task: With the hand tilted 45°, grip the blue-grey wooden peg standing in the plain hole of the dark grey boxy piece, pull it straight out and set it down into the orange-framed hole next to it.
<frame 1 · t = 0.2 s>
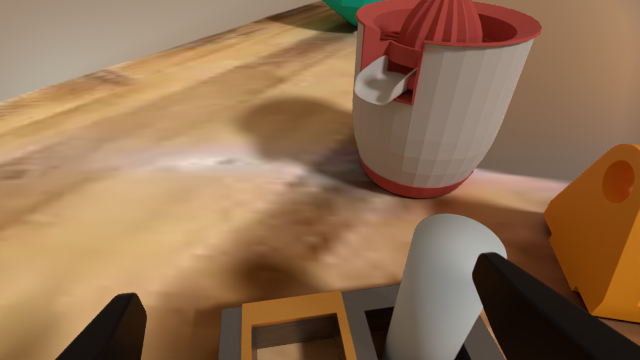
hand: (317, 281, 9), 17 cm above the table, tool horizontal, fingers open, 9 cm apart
citrus juicer: (406, 172, 40), on the table
bracket: (602, 271, 30), on the table
table top decor: (369, 26, 91), on the table
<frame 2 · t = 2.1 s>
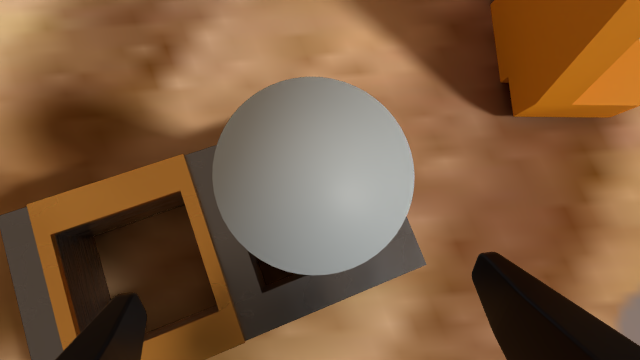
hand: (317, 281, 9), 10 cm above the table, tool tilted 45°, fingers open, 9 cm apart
peg: (297, 217, 19), resting in dark grey boxy piece
bracket: (543, 46, 23), on the table
dark grey boxy piece: (232, 241, 18), on the table
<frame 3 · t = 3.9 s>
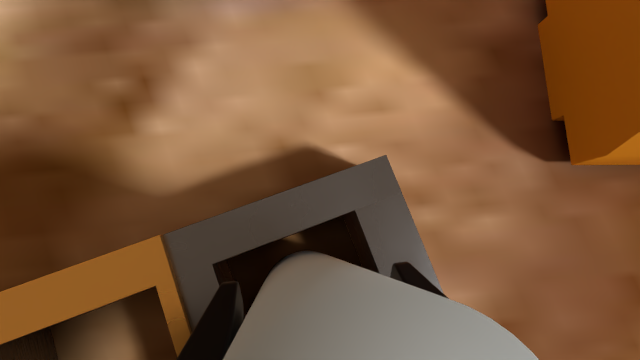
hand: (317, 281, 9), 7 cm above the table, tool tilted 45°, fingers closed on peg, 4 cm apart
peg: (307, 296, 15), resting in dark grey boxy piece, touching gripper
bracket: (601, 75, 19), on the table
dark grey boxy piece: (225, 330, 15), on the table
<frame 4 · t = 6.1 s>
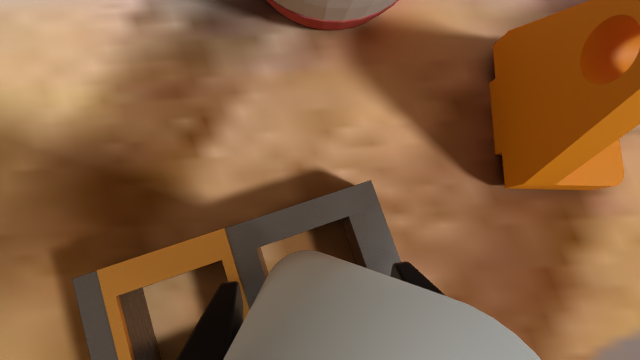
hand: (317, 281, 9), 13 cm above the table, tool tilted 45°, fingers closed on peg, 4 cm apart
peg: (307, 295, 15), point 7 cm above the table, touching gripper
bracket: (535, 121, 26), on the table
dark grey boxy piece: (258, 294, 21), on the table
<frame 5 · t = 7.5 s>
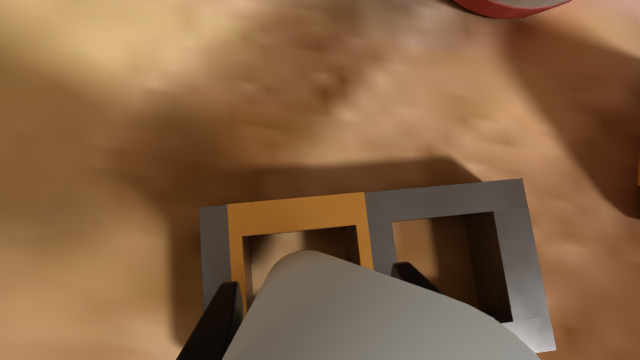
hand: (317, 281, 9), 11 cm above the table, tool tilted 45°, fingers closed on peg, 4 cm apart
peg: (307, 295, 15), point 4 cm above the table, touching gripper
dark grey boxy piece: (366, 273, 20), on the table
when the fingers open (7 cm above the table, at t = 8.5 s): peg stays where it is, resting in dark grey boxy piece.
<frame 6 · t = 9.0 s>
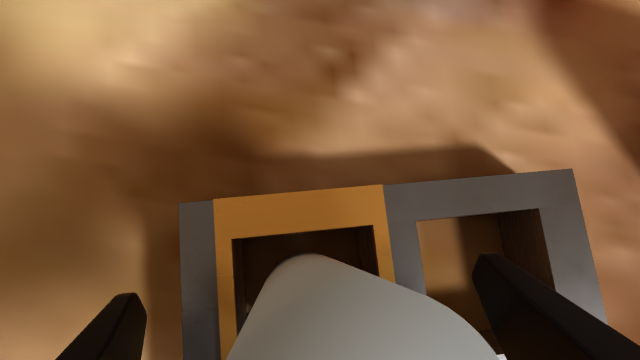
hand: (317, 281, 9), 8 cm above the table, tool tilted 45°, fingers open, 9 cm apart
peg: (306, 294, 16), resting in dark grey boxy piece
dark grey boxy piece: (382, 283, 17), on the table
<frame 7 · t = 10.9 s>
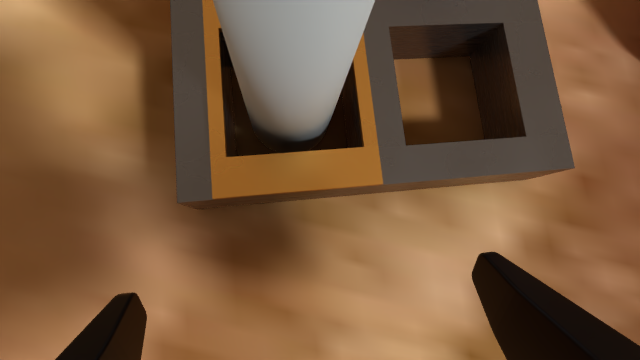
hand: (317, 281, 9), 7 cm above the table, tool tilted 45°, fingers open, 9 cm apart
peg: (290, 116, 17), resting in dark grey boxy piece
dark grey boxy piece: (361, 110, 18), on the table
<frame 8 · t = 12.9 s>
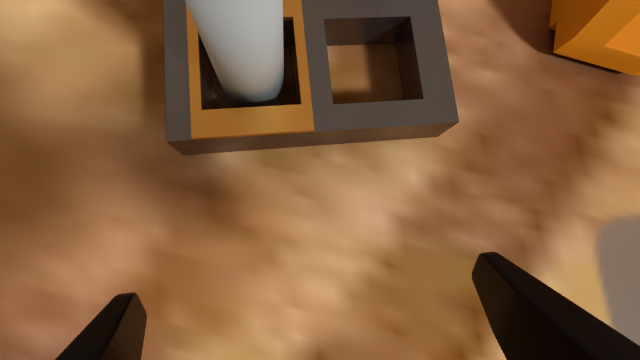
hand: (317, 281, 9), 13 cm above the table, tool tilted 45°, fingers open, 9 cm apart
peg: (254, 87, 23), resting in dark grey boxy piece
bracket: (592, 12, 27), on the table
dark grey boxy piece: (309, 83, 23), on the table
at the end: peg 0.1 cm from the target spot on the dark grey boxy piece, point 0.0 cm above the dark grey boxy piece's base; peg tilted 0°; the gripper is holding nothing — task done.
